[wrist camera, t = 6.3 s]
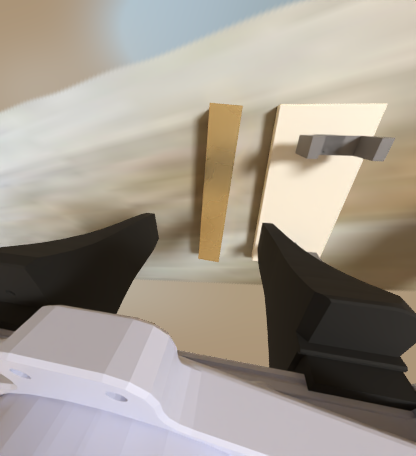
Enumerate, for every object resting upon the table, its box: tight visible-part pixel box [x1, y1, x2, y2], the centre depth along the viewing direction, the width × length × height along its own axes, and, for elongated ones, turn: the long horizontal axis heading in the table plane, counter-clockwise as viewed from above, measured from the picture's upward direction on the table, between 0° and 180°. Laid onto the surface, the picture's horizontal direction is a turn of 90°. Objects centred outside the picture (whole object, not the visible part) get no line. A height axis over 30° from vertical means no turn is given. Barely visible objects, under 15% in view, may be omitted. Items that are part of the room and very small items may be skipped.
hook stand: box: [252, 104, 395, 261], centre depth 15 cm, size 7×15×5 cm, turn 0°
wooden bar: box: [198, 103, 243, 262], centre depth 17 cm, size 2×15×2 cm, turn 176°
